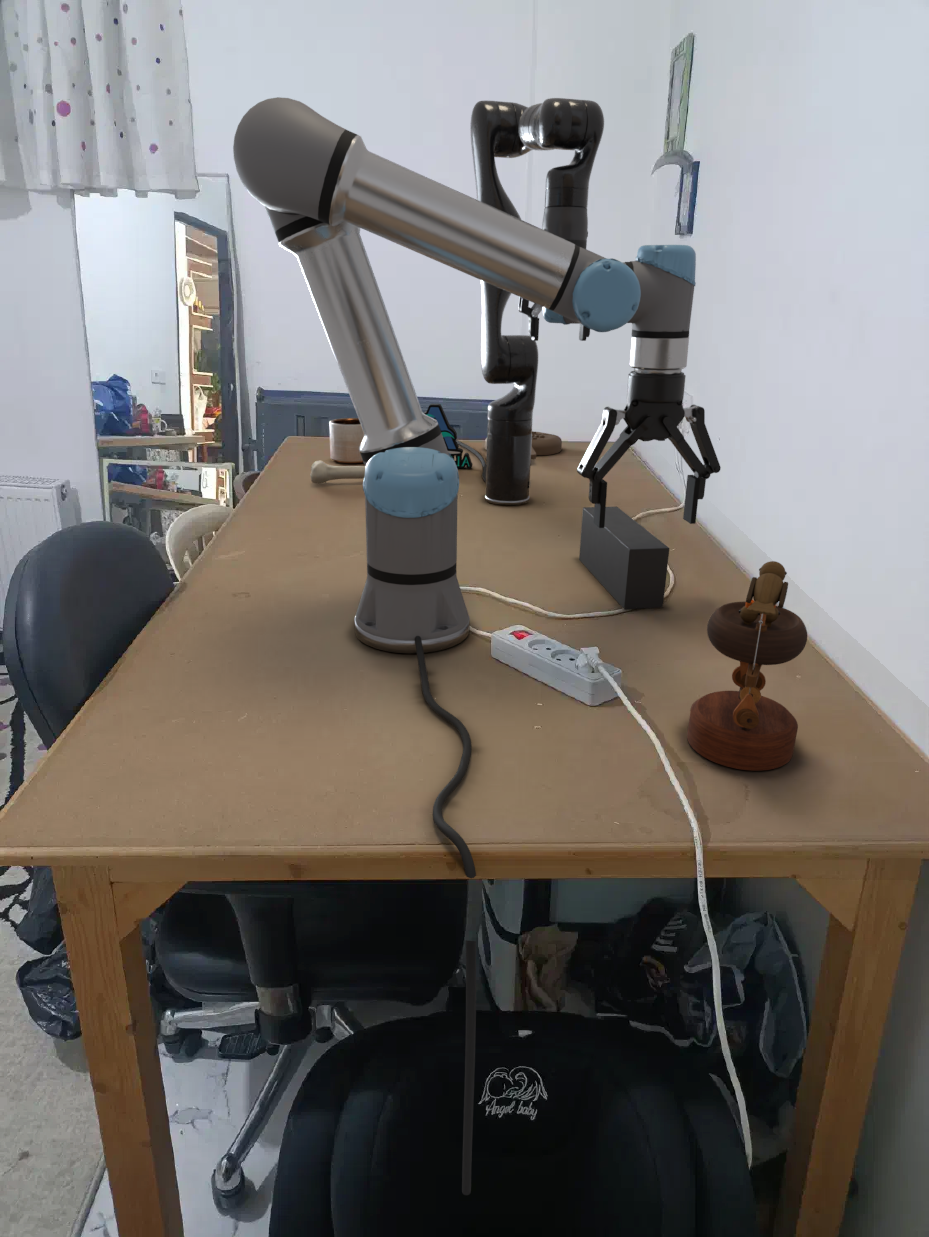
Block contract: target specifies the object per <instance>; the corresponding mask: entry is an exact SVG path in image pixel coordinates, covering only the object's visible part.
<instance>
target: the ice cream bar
mask: <svg viewBox="0 0 929 1237" xmlns="http://www.w3.org/2000/svg"><path fill="white" fill-rule="evenodd" d="M562 446H563V441H562V438H561V437H560V436H559V435H556V434H551V433H547V432H540V431H532V443H531V460H537V456H548V455H554V454H558V453H560V452H561V451H562ZM484 449H485V450H486V451H487V437H486V438H485V439H484Z"/></svg>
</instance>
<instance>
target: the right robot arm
mask: <svg viewBox="0 0 929 1237" xmlns="http://www.w3.org/2000/svg"><path fill="white" fill-rule="evenodd" d="M603 112H604V111H603V109H602V107H601V105H600V104H599V103H598V102H597V101H594V100H589V99H575V98H563V97H550V98H546V99H545V100H544V101H543V102H540V103H535V104H532V105H530V106H529V107H528V106H526V105H524V104H520V103H518V102H511V101H498V100H479V101H477V102H476V103H475V104H474V106H473V108H472V111H471V115H470V129H469V130H470V145H471V155H472V164H473V172H474V174H473V175H474V181H475V191H476V200H478V201H481V202H483V203H485V204H487V205H489V206H492V207H494V208H496V209H498V210H501V211H503V212H505V213H507V214H509V215H512V216H514V217H516V218H518V219H521V220H522V217H521V216H520V215H521V214H520V213H519V212H518V210H517V208H516V207H515V205H514V204H513V202H512V200H511V199H510V197H509V196H508V194H507V192H506V191H505V189H504V186H503V184H502V182H501V180H500V176H499V173H498V169H497V165H496V158H505V159H514V158H519V157H522V156H524V155H526V154H529V153H530V152H531V151H539V152H540V151H541V152H543V151H554V150H562V151H574V153H573V154H574V155H573V157H572V160H571V161H570V163H568V164H565V165H559V166H555V167H553V168H551V169H549V170H548V171H547V173H546V178H545V188H544V189H545V191H544V209H543V210H544V211H543V217H542V222H541V224H542V225H541V229H543V230H545V231H547V232H549V233H552V234H554V235H556V236H558V237H560V238H563V239H565V240H567V241H569V242H571V243H574V244H575V245H576V246H579V247H581V248H584V249H587V246H588V245H587V243H588V237H589V231H588V229H589V217H588V205H589V192H590V191H589V190H590V189H589V188H590V180H591V176H592V171H593V167H594V164H595V160H596V156H597V154H598V150H599V147H600V144H601V141H602V138H603V134H604V129H605V116H604V113H603ZM479 281H480V282H479V283H480V297H481V298H480V300H481V301H480V302H481V304H480V305H481V316H480V318H481V320H480V322H481V323H480V367H481V374H482V376H483V379H484V381H485V382H486V383H488V384H491V385H502V384H503V385H509V384H513V386H512V388H511V390H510V391H509V392H508V393H506V394H505V395H503V396H501V397H499V398H497V399H495V400H493V401H491V402H489V403H488V405H487V415H486V416H487V417H486V418H487V422H486V438H487V450H486V458H484V456H483V455H481V453H479V451H477V450H476V449H475V448H473V447H471V445H470V446H469V445H468V444H466V443H464V442H462V441H460V440H458V439H456V441H457V444H458V446H460V447H461V448H464V449H466V450H468V451H470V452H471V453H473V455H475V456H476V457H477V458H478V459H479V460H480V462H481V465H482V474H481V477H482V479H483V481H484V483H485V494H484V500H485V502H487V503H490V504H494V505H500V506H520V505H524V504H527V503H529V502H530V486H531V481H532V480H531V462H532V461H531V460H532V459H531V443H532V432H533V417H534V416H533V415H534V414H533V413H534V408H535V403H536V391H537V390H536V389H537V380H538V371H539V348H538V343H537V342H538V341H539V335H540V329H539V328H540V318H539V315H540V313H541V312H543V310H542V306H540V305H538V304H535V303H533V304H532V306H531V307H529V305H530V301H528V300H526V299H524V298H521V297H519V296H518V297H519V298H518V307H517V310H518V313H521V314H523V315H526V316H527V317H528V332H527V333H528V334H502V323H503V317H504V312H505V309H506V306H507V304H508V301H509V300H510V298H511V296H512V295H513V294H512V293H510V292H508V291H505V290H503V289H501V288H498V287H496V286H494V285H491V284H489V283H487V282H484V281H482V280H480V279H479ZM590 335H591V329H589V328H587V327H585V326H584V325H582V324H579V330H578V340H579V341H580V342H583V341H584V342H585V341H587V338H589V337H590ZM485 459H486V461H485Z"/></svg>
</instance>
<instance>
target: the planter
mask: <svg viewBox="0 0 929 1237" xmlns="http://www.w3.org/2000/svg"><path fill="white" fill-rule="evenodd" d="M328 424H329V425H328V426H329V453H330V454H329V455H330V456H329V457H330V459H331V460H332V461H333V462H335V463H341V464H364V462H363V459H362V457H361V454H360V452H359V447H360V445H361V443H362V440H363V438H364V431H363V429H362V426H361V424H360V421H359V418H358V417H342V418H341V417H340V418H335V419H334V418H333V419H331V420H329V421H328Z"/></svg>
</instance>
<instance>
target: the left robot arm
mask: <svg viewBox="0 0 929 1237" xmlns="http://www.w3.org/2000/svg"><path fill="white" fill-rule="evenodd" d="M232 146H233V147H232V149H233V150H232V154H233V161H234V165H235V169H236V172H237V175H238V177H239V180H240V182H241V183H242V185H243V187H244V188H245V189H246V190H247V192H248V194H250V196H251V197H252V198H254V200H255V201H257V202H258V203H259V204H261V205H262V206H263V207H264V209H265V212H266V214H267V216H268V219H269V221H270V225H271V226H272V229H273V232H274V234H275V237H276V239H277V242H278V245H279V247H281V248H283V249H284V250H286V251H288V252H290V253H292V254H293V255H294V256H295V257H296V258H297V261H298V263H299V266H300V268H301V272H302V274H303V276H304V279H305V282H306V284H307V287H308V290H309V292H310V295H311V298H312V301H313V303H314V305H315V308H316V311H317V313H318V316H319V319H320V321H321V324H322V326H323V329H324V332H325V335H326V337H327V340H328V342H329V345H330V348H331V351H332V353H333V355H334V358H335V360H336V363H337V366H338V369H339V371H340V374H341V377H342V379H343V381H344V384H345V387H346V389H347V393H348V395H349V397H350V400H351V402H352V405H353V408H354V411H355V413H356V415H357V418H359V421H360V424H361V426H362V429H363V431H364V438H363V440H362V443H361V445H360V447H359V452H360V454H361V457H362V459H363V464H364V465H363V466H365V477H364V479H362V480H363V481H362V490H363V493H364V502H365V504H364V505H365V508H364V509H365V541H366V542H365V543H366V544H365V545H366V547H365V548H366V579H365V584H364V586H363V589H362V592H361V596H360V600H359V602H358V606H357V609H356V612H355V615H354V633H355V636H356V638H357V639H358V640H359V641H360V642H362V643H363V644H365V645H367V646H368V647H371V648H374V649H377V650H380V651H384V652H390V653H396V654H397V653H398V654H416V657H417V663H418V670H419V676H420V682H421V691H422V695H423V697H424V700H425V702H426V703H427V705H428V706H429V707H430V709H431V710H432V711H433V712H434V713H435V714H436V715H438V716H439V717H441V718H442V719H443V720H445V721H447V722H448V723H449V724H450V725H452V726H453V727H454V728H455V729H456V730H457V732H458V733H459V735H460V737H461V740H462V753H461V758H460V761H459V765H458V768H457V770H456V773H455V774H454V775H453V777H452V778H451V779H450V781H449V782H448V783H447V784H446V785H445V786H444V787H443V788H442V789H441V791H440V792H439V793H438V795H437V796H436V798H435V800H434V803H433V806H432V820H433V822H434V824H435V826H436V828H437V829H438V830H439V831H440V832H441V833H442V834H443V835H444V836H445V837H446V838H447V839H448V840H450V842H451V843H453V845H454V846H455V847H456V849H457V850H458V853H459V855H460V858H461V860H462V864H463V870H464V873H465V876H466V877H467V878H468V879H474V878H475V877H476V876H477V872H476V867H475V862H474V859H473V855H472V853H471V851H470V848H469V846H468V844H467V842H466V841H465V840H464V839H463V837H462V836H461V834H460V833H458V832H457V831H456V830H455V829H454V828H453V827H451V825H450V824H448V823H447V822H446V821H445V819H444V817H443V808H444V805H445V803H446V801H447V799H449V797H450V796H451V795H452V794H453V792H454V791H455V790H456V789H457V787H458V786H459V785H460V784H461V783H462V781H463V780H464V778H465V776H466V774H467V771H468V768H469V764H470V761H471V755H472V748H473V746H472V739H471V736H470V733H469V731H468V729H467V728H466V726H465V725H464V724H463V722H462V721H461V720H460V719H459V718H457V717H456V716H455V715H453V714H452V713H451V712H449V711H448V710H446V709H444V708H443V707H442V706H441V705H440V704H438V702H436V700H435V699H434V697H433V695H432V692H431V688H430V680H429V676H428V670H427V665H426V659H425V653H433V652H439V651H443V650H446V649H449V648H452V647H455V646H457V645H458V644H460V643H462V642H463V641H464V640H466V639H467V637H468V636H469V634H470V615H469V612H468V608H467V606H466V601H465V599H464V596H463V593H462V589H461V586H460V583H459V581H458V577H457V561H458V560H457V559H458V558H457V557H458V556H457V554H458V493H459V490H460V475H459V474H460V473H459V470H458V469H459V468H457V466H456V463H455V461H456V460H455V458H454V459H453V458H452V457H451V454H450V453H449V452H448V450H447V447H446V445H445V442H444V439H443V436H442V433H441V430H440V427H439V425H438V422H437V420H435V419H433V418H431V417H429V416H427V415H425V414H424V412H423V409H422V406H421V404H420V401H419V398H418V396H417V393H416V392H417V391H416V390H415V386H414V384H413V381H412V379H411V376H410V372H409V370H408V367H407V364H406V361H405V358H404V356H403V352H402V350H401V347H400V344H399V340H398V337H397V336H396V333H395V330H394V327H393V324H392V321H391V319H390V316H389V313H388V310H387V307H386V304H385V301H384V299H383V295H382V293H381V290H380V287H379V285H378V281H377V279H376V276H375V273H374V270H373V267H372V264H371V261H370V259H369V256H368V253H367V251H366V250H367V249H366V248H365V245H364V242H363V240H362V237H361V229H362V230H363V231H367V232H369V233H371V234H374V235H376V236H378V237H380V238H382V239H385V240H387V241H390V242H391V243H393V244H396V245H399V246H401V247H403V248H406V249H408V250H410V251H413V252H415V253H417V254H420V255H422V256H424V257H426V258H429V259H432V260H433V261H436V262H438V263H441V264H442V265H445V266H447V267H450V268H452V269H454V270H456V271H459V272H461V273H463V274H466V275H468V276H471V277H473V278H476V279H478V280H479V281H480V280H482V281H484V282H487V283H489V284H491V285H494V286H496V287H498V288H501V289H503V290H505V291H508V292H510V293H512V294H511V295H514V296H517V297H521V298H524V299H526V300H528V301H529V302H531V303H533V304H534V303H535V304H538V305H540V306H542V316H543V319H544V320H545V321H546V322H547V323H548V324H562V325H564V326H565V325H567V326H568V325H571V324H572V325H574V324H575V325H578V324H579V325H580V324H582V325H584V326H585V327H587V328H589V329H590V330H592V331H594V332H597V333H608V332H612V331H615V330H618V329H620V328H622V327H623V326H625V325H626V324H631V338H630V339H631V340H630V352H629V367H630V368H632V369H633V370H631V371H630V372H629V373H628V377H627V391H626V392H627V393H626V404H625V407H624V408H623V409H619V408H613V407H611V406H605V407H604V408H603V410H602V414H601V415H602V416H601V421H600V422H601V423H600V424H599V426H598V429H597V430H596V432H595V433H594V436H593V437H592V440H591V441H590V443H589V445H588V446H587V449H586V451H585V453H584V455H583V456H582V458H581V460H580V462H579V464H578V466H577V468H576V472H577V474H579V475H580V476H581V477H583V478H584V479H588V480H589V484H588V500H589V502H590V503H591V504H593V505H594V506H593V507H594V524H595V525H596V526H598V527H599V528H604V525H605V510H606V507H607V495H608V494H607V492H608V481H606V480H605V479H604V478H605V477H606V476H607V475H608V473H609V472H610V471H611V470H612V469H613V467H615V465H616V464H617V463H618V462H619V461H620V459H621V458H622V457H623V456H624V455H625V453H626V452H627V451H628V450H629V449H630V448H631V447H632V446H633V445H635V444H636V443H637V442H638V441H639V440H640V441H642V442H651V441H658V442H664V441H666V440H667V439H668V440H669V441H670V442H671V444H672V446H674V448H675V449H676V450H677V452H678V453H679V455H680V456H681V457H682V459H683V460H684V462H685V463H686V464H687V466H688V467H689V468H690V470H691V472H692V473H693V474H687V476H686V478H687V479H686V486H685V487H686V488H685V495H684V496H685V497H684V506H683V507H684V508H683V515H682V519H683V520H684V521H685V522H687V523H689V524H690V525H695V524H696V522H697V515H698V514H697V513H698V505H699V500H703V499H704V497H705V490H706V482H707V480H708V479H709V478H710V477H711V475H712V474H718V473H720V472H721V468H722V467H721V465H720V461H719V459H718V456H717V453H716V451H715V448H714V445H713V443H712V439H711V437H710V434H709V431H708V428H707V426H706V423H705V422H706V421H705V420H706V419H705V418H706V417H705V410H706V409H705V408H704V407H703V406H700V405H697V404H691V405H690V406H689V407H684V406H683V401H684V397H685V384H686V374H685V372H683V371H682V370H684V369H686V368H687V366H688V355H689V345H690V344H689V343H690V330H691V329H690V328H691V320H692V311H693V303H694V294H695V287H696V284H697V282H696V265H697V262H696V261H697V256H696V255H697V254H696V251H695V249H694V247H692V246H691V245H687V244H644V245H641V246H640V247H638V250H637V254H636V256H635V260H631V261H630V260H629V261H624V262H622V261H620V260H619V259H616V258H608V257H607V258H606V257H604V256H602V255H600V254H598V253H595V252H594V251H591V250H589V249H587V248H586V249H584V248H581V247H579V246H576V245H575V244H574V243H571V242H569V241H567V240H565V239H563V238H560V237H558V236H556V235H554V234H552V233H549V232H547V231H545V230H543V229H542V228H540V227H538V226H536V225H534V224H531V223H530V222H528V221H525V220H522V218H521V219H518V218H516V217H514V216H512V215H509V214H507V213H505V212H503V211H501V210H498V209H496V208H494V207H492V206H489V205H487V204H485V203H483V202H481V201H478V200H477V198H474V197H472V196H469V195H467V194H466V193H463V192H461V191H458V190H456V189H454V188H452V187H450V186H447V185H445V184H443V183H441V182H439V181H436V180H435V179H434V180H433V179H432V178H430V177H427V176H425V175H424V174H423V175H422V174H420V173H418V172H417V171H414V170H412V169H410V168H407V167H405V166H403V165H400V164H399V163H396V162H394V161H392V160H390V159H389V158H388V159H387V158H385V157H383V156H381V155H379V154H376V153H374V152H372V151H370V150H369V149H368V148H367V147H366V146H367V145H366V144H365V142H364V140H363V137H362V135H359V134H357V133H355V132H352V131H351V130H348V129H347V128H344V127H342V126H341V125H338V124H336V123H335V122H333V121H331V120H330V119H328V118H326V117H324V116H323V115H321V114H320V113H319V112H318V111H315V110H314V109H313V108H312V107H310V106H308V105H307V104H306V103H303V102H302V101H300V100H297V99H293V98H289V97H280V96H279V97H270V98H267V99H264V100H262V101H259V102H257V103H256V104H255V105H253V106H251V107H250V108H249V109H248V110H247V111H246V112H245V113H244V115H243V116H242V118H241V119H240V121H239V123H238V125H237V128H236V131H235V134H234V137H233V145H232ZM684 418H685V420H686V422H687V423H689V426H690V429H691V432H692V435H693V437H694V440H695V442H696V445H697V448H698V450H699V453H700V456H701V459H702V461H701V459H700V458H699V457H698V455H697V454H696V453H695V451H694V450H693V449H692V447H691V446H690V444H689V443H688V442H687V440H686V439H685V436H684V435H683V433H682V432H681V430H680V429H679V427H678V426H679V425H680V423H682V421H683V419H684ZM621 420H623V421H624V422H625V423H626V427H625V428H624V429H623V430H622V431H621V433H620V434H619V436H618V437H617V439H616V440H615V442H613V444H612V445H611V446H610V447H609V449H608V450H607V451H606V452H605V453H604V454H603V455H602V453H603V451H604V449H605V447H606V446H607V444H608V442H609V441H610V438H611V436H612V434H613V432H614V431H615V427H616V426H618V425H619V424H620V422H621ZM601 455H602V457H601ZM600 457H601V458H600ZM702 462H703V463H702ZM476 1022H477V941H476V940H465V1046H464V1048H465V1049H464V1051H465V1054H464V1055H465V1056H464V1091H463V1092H464V1093H463V1094H464V1095H463V1124H462V1126H463V1128H462V1162H461V1164H462V1165H461V1166H462V1168H461V1169H462V1170H461V1178H462V1180H461V1192H462V1195H464V1196H469V1195H470V1194H471V1193H472V1192H471V1191H472V1163H473V1162H472V1157H473V1129H474V1128H473V1127H474V1098H475V1097H474V1096H475V1071H476V1070H475V1068H476V1032H477V1030H476V1029H477V1028H476V1026H477V1024H476Z"/></svg>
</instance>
